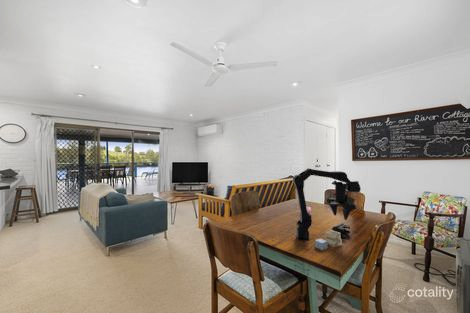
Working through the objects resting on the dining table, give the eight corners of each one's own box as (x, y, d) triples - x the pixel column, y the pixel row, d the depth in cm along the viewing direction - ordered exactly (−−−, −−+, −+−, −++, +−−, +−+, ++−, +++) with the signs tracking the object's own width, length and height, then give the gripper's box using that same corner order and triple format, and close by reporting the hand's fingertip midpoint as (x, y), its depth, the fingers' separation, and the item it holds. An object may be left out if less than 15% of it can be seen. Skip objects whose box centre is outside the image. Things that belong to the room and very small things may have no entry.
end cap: (339, 232, 133) (339, 222, 134) (350, 235, 128) (350, 224, 128) (331, 235, 128) (331, 225, 128) (343, 239, 122) (342, 228, 122)
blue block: (322, 250, 108) (322, 243, 108) (315, 247, 112) (315, 240, 112) (327, 248, 111) (327, 241, 111) (320, 245, 114) (320, 238, 114)
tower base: (333, 247, 112) (333, 241, 112) (325, 243, 117) (325, 237, 117) (341, 245, 114) (341, 239, 114) (333, 241, 119) (333, 235, 119)
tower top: (335, 241, 112) (335, 235, 112) (326, 238, 116) (325, 232, 116) (340, 238, 115) (340, 232, 115) (331, 235, 119) (330, 230, 119)
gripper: (364, 194, 114) (364, 221, 114) (341, 189, 132) (341, 212, 132) (347, 195, 112) (346, 222, 112) (326, 189, 130) (326, 213, 130)
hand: (340, 217), depth 122 cm, fingers open, 9 cm apart
